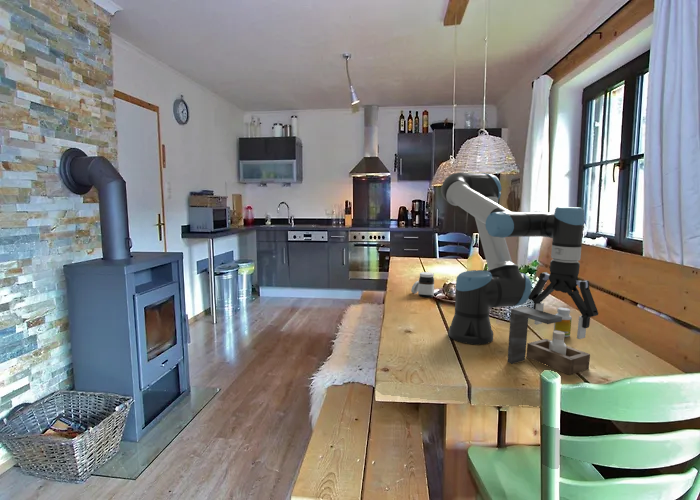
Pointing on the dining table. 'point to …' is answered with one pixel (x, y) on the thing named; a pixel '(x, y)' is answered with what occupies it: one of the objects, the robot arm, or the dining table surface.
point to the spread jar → (424, 285)
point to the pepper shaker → (558, 343)
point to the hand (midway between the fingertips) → (558, 330)
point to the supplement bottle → (563, 321)
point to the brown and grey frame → (541, 343)
